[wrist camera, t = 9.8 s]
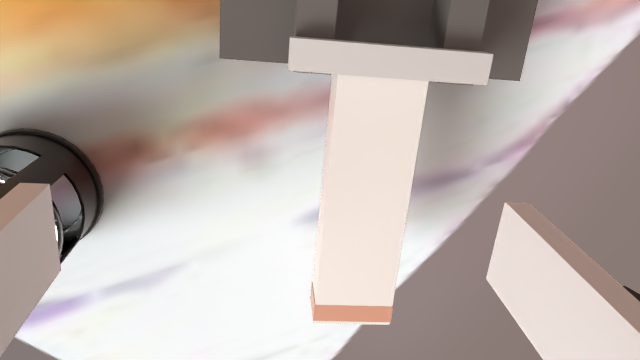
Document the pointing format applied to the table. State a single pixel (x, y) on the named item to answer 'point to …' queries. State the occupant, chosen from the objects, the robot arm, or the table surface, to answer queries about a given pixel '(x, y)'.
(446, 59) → the dispenser
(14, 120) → the table surface
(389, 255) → the cream rectangular bar
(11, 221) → the robot arm
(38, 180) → the french press
